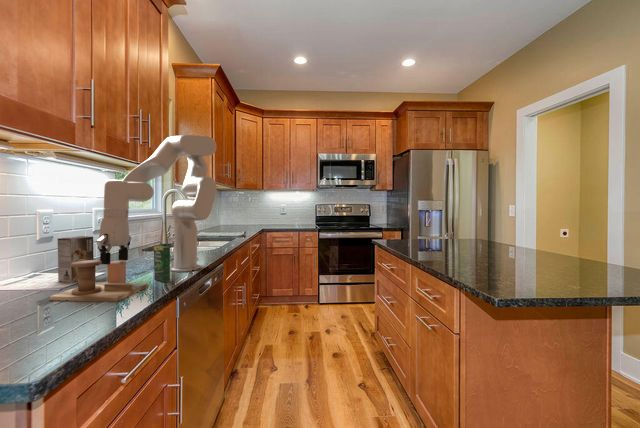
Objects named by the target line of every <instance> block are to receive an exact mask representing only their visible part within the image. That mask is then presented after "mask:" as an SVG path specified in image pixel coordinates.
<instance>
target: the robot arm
mask: <svg viewBox="0 0 640 428" xmlns="http://www.w3.org/2000/svg"><path fill="white" fill-rule="evenodd" d="M217 148H218V147H217V143H216V141H215V139H214V138H212V137H211V136H208V135H207V136H206V135H193V134H177V135H171V136H168V137H166V138H165V139H164V140H163V141H162V142H161V143H160V144H159V146H158V147H157V149H156V150H155V151H154V152H153V153H152V155H150V156H149V158H147V159H146V160H144V161H143V162H142V163H140V164H139V165H137V166H136V167H134V168H133V169H132V170H130V171H129V172H128V173H127V174H126V175H125V176H124V178H123V179H108V180H105V182H104V187H103V189H104V191H103V192H104V193H103V194H104V195H103V214H102V215H103V218H101V222H100V223H101V224H100V227H99V236H98V239H97V240H96V245H97V249H98V250H99V251H98V252H99V253H100V256H99V261H102V264H101V265H106V266H108V264H110V262H111V255H112V253H111V249H112V248H114V247H119V249H118V257H117V259H118V261H128V260H129V249H130V245H131V241H132V236H130V229H129V228H130V226H129V214H130V213H129V210H130V209H129V207H130V206H129V205H130V202H137V203H138V202H140V203H144V202H147V201H150V200H151V199H152V198H153V196H154V194H155V191H154V188H153V186H152V185H151V184H150V183H148V182H150V181H152V180H154V179H156V178H158V177H162V176H163V175H165V174H167V173H168V172H169V171H170V170H171V168H172V167H173V166H174V165H175V164H176V162H177V161H178V160H179V159H180V157H182V156H185V157H186V159H187V162H188V163H187V164H188V165H187V166H188V167H187V171H186V174H185V178H184V180H183V183H182V187H181V188H182V189H181V191H182V194H183V195H184V196H186V197H189V198H180V199H178V200H176V201H174V203H173V204H172V206H171V214H172V215H171V217H172V220H173V265H170V272H178V273H180V272H182V273H183V272H193V271H192V270H194V271H197V269H198V270H200V269H201V265H200V264H198V262H199V257H198V228H197V224H196V222H195V221H197V222H198V221H199V222H200V221H201V222H202V221H205V220H207V219H208V218H209V217H210V215H211V213H212V209H213V206H214V202H215V198H216V197H217V196H216V195H217V189H218V187H217V183H216V181H215V180H214V178H213V177H210V176H208V164H207V161H206V160H205V158H204V157H209V156H212V155H214V154H215V153H216V151H217ZM199 268H200V269H199Z"/></svg>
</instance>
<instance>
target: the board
mask: <svg viewBox="0 0 640 428" xmlns="http://www.w3.org/2000/svg"><path fill="white" fill-rule="evenodd" d="M95 286H100V287H102V290H101V291H100V292H97V293H93V294H88V295H72V290H74V289H76V288H78V286H77V287H73V288H71V289H68V290H65V291H61V292H58V293H55V294H53V295H50V296H49V301H59V300H60V302H62V301H63V302H65V301H66V300H68V301H69V302H111V303H113V302H118V301H121V300H123V299H126V298H127V297H130V296H132V295H134V294H137V293H138V292H140V291H143V290H144V289H146V288H149V283H147V282H146V283H143V282H141V283H140V282H139V283H138V282H126V283H108V282H99V281H98V282H96V281H95ZM68 301H67V302H68Z"/></svg>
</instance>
